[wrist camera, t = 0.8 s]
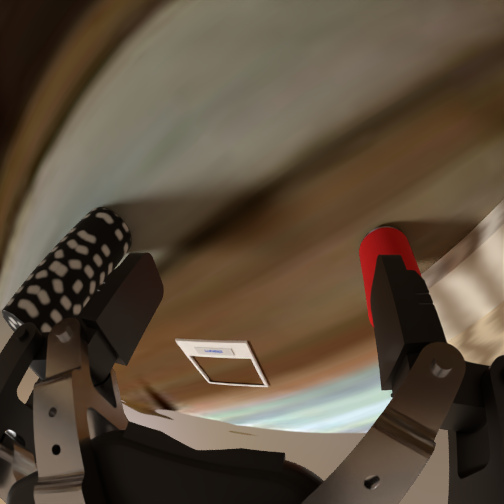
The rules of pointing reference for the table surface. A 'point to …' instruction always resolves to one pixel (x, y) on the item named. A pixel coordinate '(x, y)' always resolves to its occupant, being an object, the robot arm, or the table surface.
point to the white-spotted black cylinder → (70, 272)
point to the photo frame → (219, 354)
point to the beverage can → (383, 244)
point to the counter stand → (473, 291)
